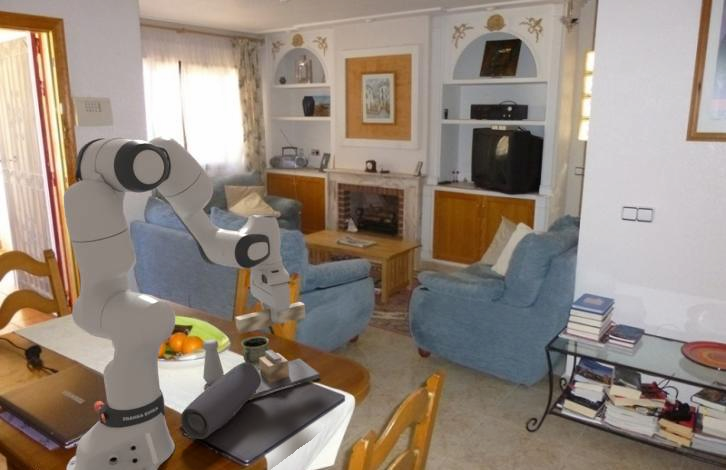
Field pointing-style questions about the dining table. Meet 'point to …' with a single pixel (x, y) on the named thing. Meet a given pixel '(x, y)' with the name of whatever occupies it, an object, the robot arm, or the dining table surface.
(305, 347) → the dining table surface
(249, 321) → the birch batten
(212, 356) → the salt shaker
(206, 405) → the bluetooth speaker
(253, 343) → the vessel
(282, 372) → the ridge stand
